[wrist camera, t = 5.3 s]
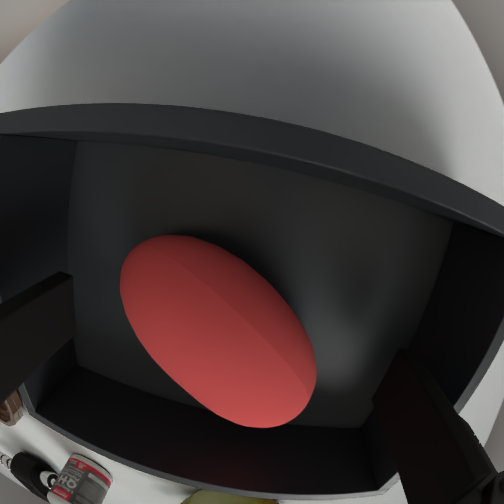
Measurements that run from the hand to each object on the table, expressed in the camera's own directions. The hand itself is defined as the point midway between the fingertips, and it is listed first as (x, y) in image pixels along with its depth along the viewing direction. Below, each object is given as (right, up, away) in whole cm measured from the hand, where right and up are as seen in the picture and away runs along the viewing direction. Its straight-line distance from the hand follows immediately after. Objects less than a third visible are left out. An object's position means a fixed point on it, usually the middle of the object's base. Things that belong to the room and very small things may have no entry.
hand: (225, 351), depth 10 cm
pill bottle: (-17, -20, +10) cm, 28 cm away
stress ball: (0, +1, +3) cm, 3 cm away
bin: (0, +1, +3) cm, 4 cm away
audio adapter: (-37, -32, +15) cm, 51 cm away
